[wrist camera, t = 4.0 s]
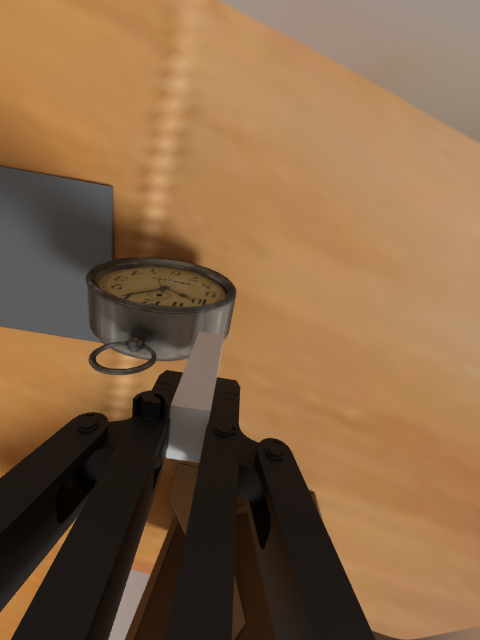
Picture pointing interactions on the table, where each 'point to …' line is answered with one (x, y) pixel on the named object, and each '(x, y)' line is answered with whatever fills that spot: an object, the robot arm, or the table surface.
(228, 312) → the alarm clock
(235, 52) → the table surface
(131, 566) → the robot arm
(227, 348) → the table surface
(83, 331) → the mat
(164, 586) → the photo frame
